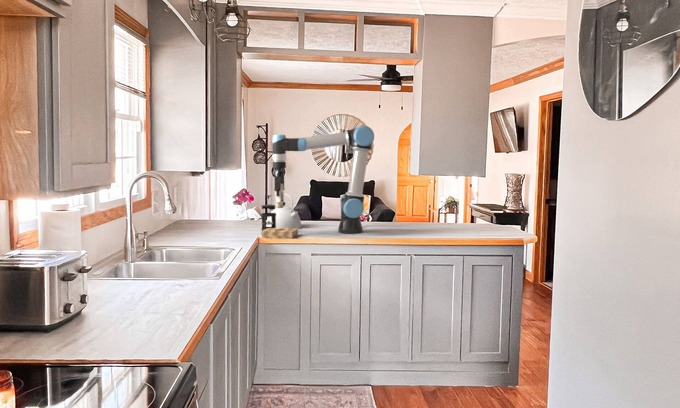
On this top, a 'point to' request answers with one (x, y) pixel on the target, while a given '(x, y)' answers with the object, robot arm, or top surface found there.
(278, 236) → the board
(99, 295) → the top surface
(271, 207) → the french press
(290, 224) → the kettle
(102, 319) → the top surface
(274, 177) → the robot arm
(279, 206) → the peg
